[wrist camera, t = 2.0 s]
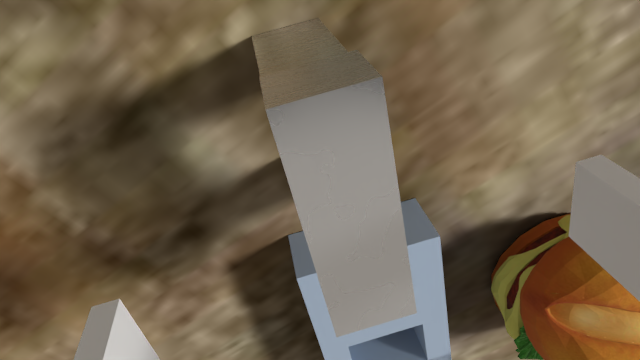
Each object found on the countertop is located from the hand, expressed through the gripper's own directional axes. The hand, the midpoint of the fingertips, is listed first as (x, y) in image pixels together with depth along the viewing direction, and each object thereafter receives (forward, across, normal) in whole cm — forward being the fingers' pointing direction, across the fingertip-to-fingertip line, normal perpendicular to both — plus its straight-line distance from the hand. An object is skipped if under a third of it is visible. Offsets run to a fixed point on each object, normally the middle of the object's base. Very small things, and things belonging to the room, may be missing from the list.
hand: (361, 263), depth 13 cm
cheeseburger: (+11, +14, -15) cm, 23 cm away
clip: (+10, 0, 0) cm, 11 cm away
